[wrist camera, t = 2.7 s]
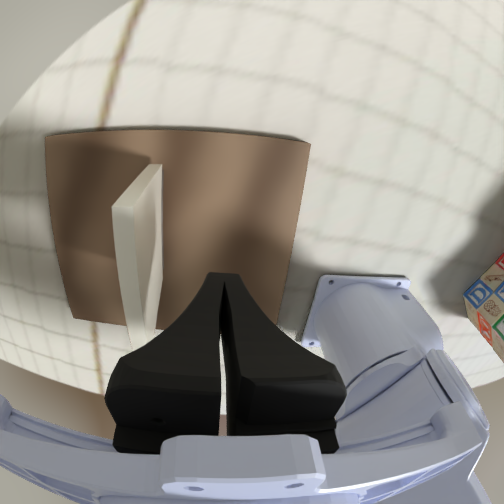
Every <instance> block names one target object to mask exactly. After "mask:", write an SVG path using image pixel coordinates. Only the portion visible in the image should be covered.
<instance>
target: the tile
mask: <svg viewBox="0 0 504 504" xmlns="http://www.w3.org/2000/svg"><path fill="white" fill-rule="evenodd" d="M161 188H162V164H149V165H148V166H147V167H146V168H145V169H144V170H143V171H142V172H141V174H140V175H139V176H138V177H137V178H136V179H135V180H134V181H133V182H132V184H131V185H130V186H129V187H128V188H127V189H126V190H125V191H124V193H123V194H122V195H121V196H120V197H119V198H118V200H117V201H116V202H115V203H114V204H113V206H112V221H113V233H114V244H115V253H116V262H117V269H118V277H119V284H120V290H121V296H122V302H123V308H124V313H125V319H126V324H127V329H128V334H129V338H130V343H131V347H132V351H135V350H137V349H138V348H140V347H142V346H144V345H145V344H147V343H148V342H149V341H151V340H152V339H154V335H155V327H156V320H157V313H158V306H159V299H160V293H161V287H162V281H163V268H162V236H161Z"/></svg>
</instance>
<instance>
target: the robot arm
mask: <svg viewBox="0 0 504 504" xmlns="http://www.w3.org/2000/svg"><path fill="white" fill-rule="evenodd" d="M330 280H333V281H332V282H330V283H329V281H330ZM398 282H399V283H398ZM397 283H398V284H397ZM410 284H411V281H410V280H409V279H408V278H396V277H367V276H341V275H323V276H321V277H320V279H319V282H318V285H317V289H316V293H315V296H314V300H313V303H312V307H311V310H310V313H309V317H308V320H307V323H306V327H305V330H304V333H303V336H302V340H301V345H302V346H303V347H302V346H300V345H299V344H298V343H296V342H295V341H293V340H292V339H291V338H290V337H288V336H287V335H286V334H285V333H283V332H282V331H281V330H280V329H279V328H278V327H277V326H276V325H275V324H274V323H273V322H272V321H271V320H270V319H269V318H268V317H267V316H266V314H265V313H264V312H263V311H262V309H261V308H260V307H259V306H258V304H257V303H256V301H255V300H254V299H253V297H252V296H251V294H250V293H249V291H248V289H247V288H246V286H245V284H244V282H243V280H242V278H241V276H240V275H239V274H234V273H218V272H209V273H208V274H207V275H206V278H205V280H204V282H203V284H202V286H201V288H200V289H199V291H198V292H197V294H196V296H195V297H194V298H193V300H192V301H191V302H190V304H189V305H188V306H187V308H186V309H185V310H184V311H183V312H182V314H181V315H180V316H179V317H178V318H177V319H176V320H175V321H174V322H173V323H172V324H171V325H170V326H169V327H167V328H166V329H165V330H164V331H163V332H162V333H160V334H159V335H158V336H157V337H155V338H154V339H152V340H151V341H149V342H148V343H147V344H145V345H144V346H142V347H140V348H138V349H137V350H135V351H133V352H131V353H129V354H127V355H125V356H123V357H121V358H120V359H119V361H118V363H117V364H116V366H115V368H114V370H113V372H112V374H111V377H110V379H109V383H108V387H107V390H106V394H105V403H106V405H107V407H108V409H109V411H110V413H111V415H112V417H113V419H114V421H115V423H116V429H115V433H114V439H113V440H111V439H106V438H102V437H98V436H94V435H90V434H86V433H82V432H79V431H75V430H72V429H68V428H65V427H62V426H59V425H56V424H53V423H50V422H47V421H44V420H41V419H39V418H36V417H33V416H31V415H28V414H26V413H23V412H21V411H19V410H16V409H14V408H12V406H11V404H10V403H9V401H8V400H7V399H6V398H5V397H4V396H2V395H1V394H0V466H2V467H3V468H5V469H7V470H9V471H10V472H12V473H14V474H16V475H18V476H20V477H22V478H23V479H25V480H27V481H29V482H32V483H33V484H35V485H37V486H39V487H42V488H44V489H46V490H48V491H50V492H52V493H55V494H57V495H59V496H62V497H64V498H67V499H69V500H72V501H75V502H77V503H80V504H492V503H491V501H490V499H489V497H488V496H487V494H486V492H485V490H484V488H483V486H482V485H481V483H480V481H479V480H478V478H477V476H476V474H475V473H474V471H473V469H474V467H475V465H476V464H477V462H478V460H479V458H480V456H481V454H482V452H483V450H484V448H485V446H486V444H487V441H488V439H489V430H488V429H489V426H490V425H489V422H488V420H487V417H486V415H485V413H484V411H483V410H482V408H481V405H480V403H479V401H478V399H477V397H476V395H475V394H474V392H473V390H472V389H471V387H470V386H469V384H468V382H467V381H466V379H465V378H464V376H463V375H462V374H461V372H460V371H459V369H458V368H457V366H456V365H455V364H454V362H453V361H452V360H451V358H450V357H449V356H448V355H447V354H446V352H445V351H444V350H443V340H442V335H441V332H440V330H439V328H438V326H437V325H436V323H435V322H434V321H433V320H432V318H431V317H430V316H429V315H428V313H427V312H426V311H425V310H424V308H423V307H422V306H421V305H420V303H419V302H418V301H417V300H416V298H415V297H414V296H413V295H412V294H411V292H410V291H409V290H408V289H409V286H410ZM220 333H221V337H222V347H223V355H224V364H225V373H226V412H227V436H218V433H219V419H220V405H221V371H220V351H219V341H220ZM310 342H311V343H310ZM304 347H321V348H322V351H323V354H324V357H325V359H323V358H321V357H319V356H317V355H315V354H313V353H311V352H310V351H308V350H307V349H305V348H304ZM334 417H336V420H335V418H334Z"/></svg>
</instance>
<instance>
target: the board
mask: <svg viewBox="0 0 504 504" xmlns="http://www.w3.org/2000/svg"><path fill="white" fill-rule="evenodd" d="M310 146H311V144H310V143H307V142H302V141H295V140H289V139H281V138H274V137H266V136H257V135H248V134H238V133H226V132H212V131H194V130H154V129H149V130H109V131H92V132H79V133H68V134H59V135H51V136H47V137H45V159H46V177H47V189H48V199H49V208H50V216H51V223H52V229H53V235H54V241H55V246H56V252H57V256H58V261H59V266H60V270H61V275H62V279H63V283H64V287H65V291H66V294H67V298H68V301H69V305H70V308H71V312H72V315H73V318H76V319H82V320H89V321H95V322H102V323H109V324H116V325H124V326H127V324H126V319H125V313H124V308H123V302H122V296H121V290H120V284H119V277H118V269H117V262H116V253H115V244H114V233H113V221H112V206H113V204H114V203H115V202H116V201H117V200H118V198H119V197H120V196H121V195H122V194H123V193H124V191H125V190H126V189H127V188H128V187H129V186H130V185H131V184H132V182H133V181H134V180H135V179H136V178H137V177H138V176H139V175H140V174H141V172H142V171H143V170H144V169H145V168H146V167H147V166H148V165H149V164H162V188H161V236H162V268H163V281H162V287H161V293H160V299H159V306H158V313H157V320H156V327H155V329H161V330H165V329H166V328H167V327H169V326H170V325H171V324H172V323H173V322H174V321H175V320H176V319H177V318H178V317H179V316H180V315H181V314H182V312H183V311H184V310H185V309H186V308H187V306H188V305H189V304H190V302H191V301H192V300H193V298H194V297H195V296H196V294H197V292H198V291H199V289H200V288H201V286H202V284H203V282H204V280H205V278H206V275H207V274H208V273H209V272H218V273H234V274H239V275H240V276H241V278H242V280H243V282H244V284H245V286H246V288H247V289H248V291H249V293H250V294H251V296H252V297H253V299H254V300H255V301H256V303H257V304H258V306H259V307H260V308H261V309H262V311H263V312H264V313H265V314H266V316H267V317H268V318H269V319H270V320H271V321H272V322H273V323H274V324H275V325H276V323H277V319H278V315H279V310H280V305H281V301H282V296H283V291H284V287H285V282H286V277H287V272H288V267H289V263H290V258H291V253H292V248H293V242H294V237H295V232H296V227H297V221H298V216H299V211H300V205H301V200H302V194H303V188H304V182H305V177H306V171H307V165H308V159H309V152H310ZM220 334H221V333H220Z"/></svg>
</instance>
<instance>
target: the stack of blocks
mask: <svg viewBox="0 0 504 504" xmlns="http://www.w3.org/2000/svg"><path fill="white" fill-rule="evenodd" d="M463 297H464V301H465V305H466V311H467V315H468V319H469V320H470V321H471V322H472V324H473V325H474V326H475V327H476V328H477V329H478V330H479V331H480V333H481V335H482V336H483V337H484V338H485V339H486V340H487V342H488V343H489V344H490V345H491V346H492V347H493V350H494V351H495V352H496V353H497V355H498V356H499V357H500V359H501V360H502V361H503V363H504V253H503V254H502V255H501V256H500V258H499V259H498V260H497V261H496V262H495V263H494V264H493V265H492V266H491V267H490V268H489V269H488V270H487V271H486V272H485V273H484V274H483V275H482V276H481V277H480V279H479V280H477V281H476V282H475V283H474V284H473V285H472V286H471V287H470V288H469V289H468V290H467V291H466V292H465V293H464V294H463Z"/></svg>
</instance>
